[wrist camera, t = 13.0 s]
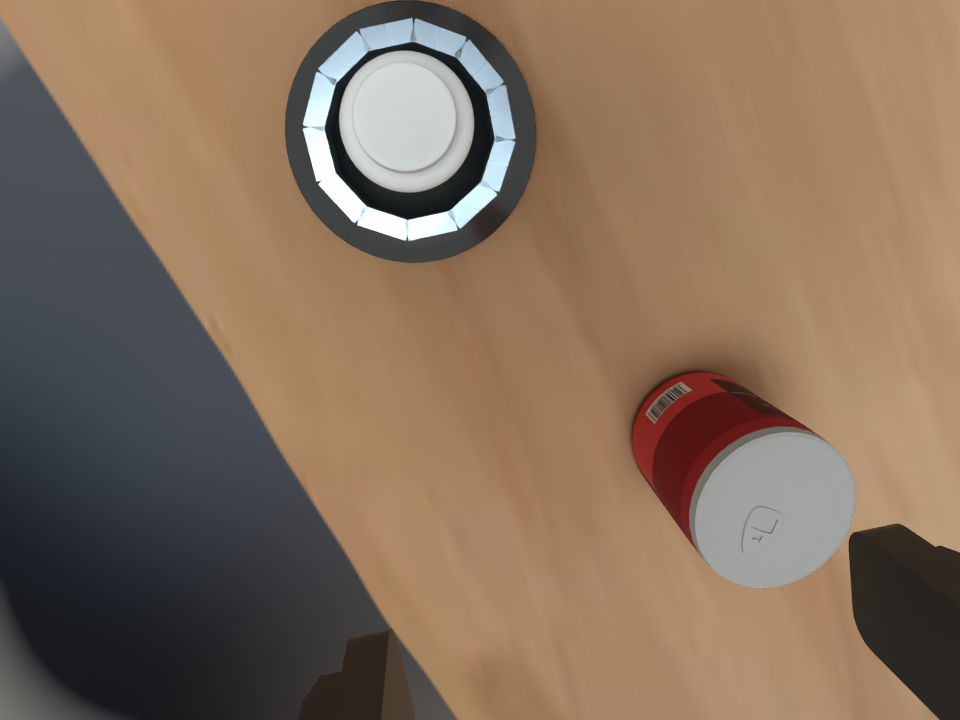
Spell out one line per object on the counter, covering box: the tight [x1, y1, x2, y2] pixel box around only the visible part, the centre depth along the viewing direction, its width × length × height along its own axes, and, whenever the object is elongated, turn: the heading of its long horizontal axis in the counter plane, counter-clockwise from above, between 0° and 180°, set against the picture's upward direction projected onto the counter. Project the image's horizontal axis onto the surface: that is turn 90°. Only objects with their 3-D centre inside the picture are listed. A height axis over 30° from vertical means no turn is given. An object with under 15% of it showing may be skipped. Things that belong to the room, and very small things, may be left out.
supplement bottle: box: [339, 51, 474, 193], centre depth 30 cm, size 6×6×10 cm
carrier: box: [285, 0, 536, 263], centre depth 35 cm, size 13×13×4 cm
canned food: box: [632, 372, 856, 588], centre depth 36 cm, size 8×8×11 cm
